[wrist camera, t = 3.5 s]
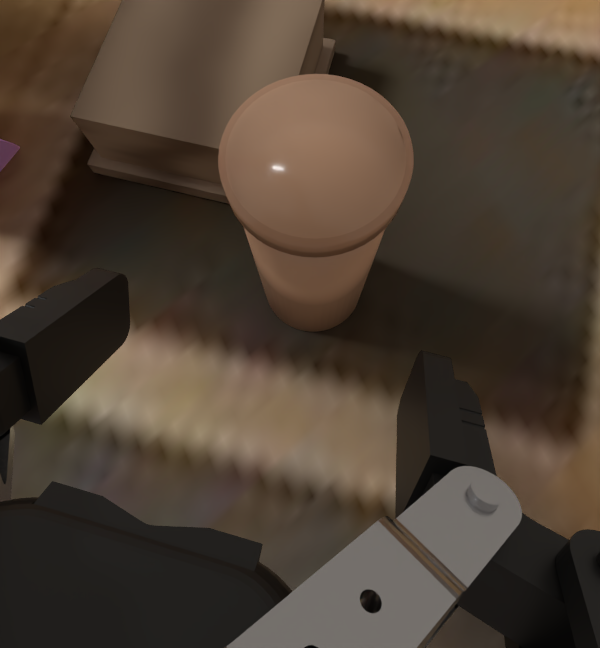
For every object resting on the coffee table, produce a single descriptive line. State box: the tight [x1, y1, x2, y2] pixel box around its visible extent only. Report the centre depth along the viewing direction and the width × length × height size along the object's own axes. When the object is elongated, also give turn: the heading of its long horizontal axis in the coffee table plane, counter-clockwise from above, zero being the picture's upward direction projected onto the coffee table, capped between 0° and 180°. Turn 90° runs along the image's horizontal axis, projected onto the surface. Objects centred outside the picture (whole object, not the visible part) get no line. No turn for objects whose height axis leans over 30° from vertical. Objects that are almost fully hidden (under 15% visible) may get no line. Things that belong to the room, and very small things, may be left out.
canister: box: [218, 74, 413, 332], centre depth 17 cm, size 5×5×11 cm
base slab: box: [70, 0, 335, 204], centre depth 24 cm, size 11×11×4 cm
